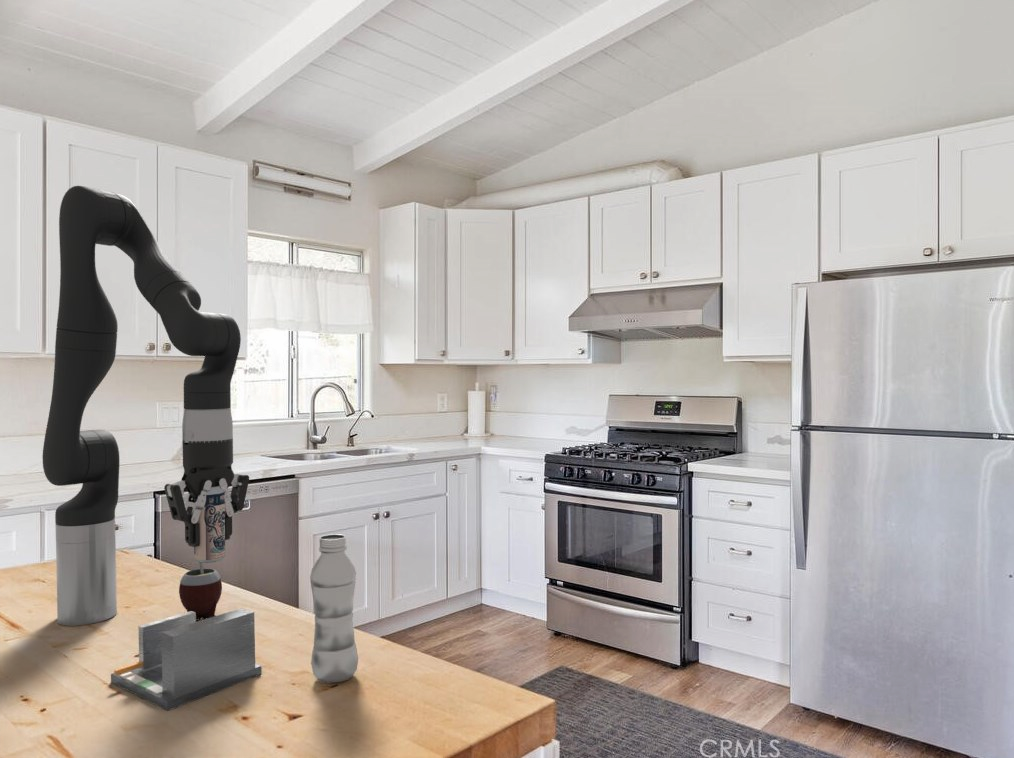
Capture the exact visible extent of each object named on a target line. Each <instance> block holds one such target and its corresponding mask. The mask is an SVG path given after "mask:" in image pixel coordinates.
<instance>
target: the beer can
mask: <svg viewBox="0 0 1014 758" xmlns="http://www.w3.org/2000/svg"><path fill="white" fill-rule="evenodd" d="M205 495H206V502H205V506H204V508H203V509H202V510H201V513H200V516H199V519H198V522H197V523H200V545H199V546H197V547H193V561H196V562H198V563H199V562H200V563H203V564H213V563H216V562H220V561H222V560H223V559H224V558H225V557H226V540H225V492H224V490H223V489H221V488H220V486H218V487H211V488H210V491H208V492H207V493H206V494H205ZM203 496H204V495H203ZM196 501H197V500H196V499H194V503H195V502H196ZM200 563H199V564H200Z"/></svg>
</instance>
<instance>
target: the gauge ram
mask: <svg viewBox="0 0 1014 758" xmlns="http://www.w3.org/2000/svg"><path fill="white" fill-rule="evenodd" d="M194 622H197V620H196V612H193V611H189V612H187V611H186V612H183V613H180V614H175V615H173V616H169V617H165V618H162V619H158V620H155V621H151V622H148V623H144V624H141V625H138V628H137V630H138V662H134V663H131V664H128V665H125V666H123V667H119V668H117V669H114V670H113V671H114V672H113V673H114V674H115V675H119V674H122V673H125V672H128V671H131V670H134V669H137V668H140V669H142V670H145V669H148V668H151V667H154V666H157V665H160V664H162V643H161V632H164V631H167V630H171V629H174V628H177V627H181V626H184V625H187V624H191V623H194Z"/></svg>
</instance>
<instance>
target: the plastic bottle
mask: <svg viewBox="0 0 1014 758" xmlns="http://www.w3.org/2000/svg"><path fill="white" fill-rule="evenodd" d="M346 539H347V538H346V535H345V534H342V533H341V534H339V533H338V534H337V533H331V534H325V535H321V536H320V537H319V547H318V551H319V552H320V555H319V556H318V559H317V560H316V561H315V562H314V565H313V566H312V568H311V570H310V575H309V583H310V589H311V595H312V599H313V600H312V601H313V613H314V636H313V638H314V639H313V648H312V653H311V661H310V665H311V670H312V674H313V676H314V677H315V679H316V680H317V681H319V682H321V683H325V684H331V683H332V684H334V683H335V684H336V683H341V682H345V681H347V680H350V679H351V678H352V677H353V676H354V675H355V673H356V671H357V670H358V664H359V654H358V648H357V644H356V639H355V629H354V628H355V627H354V621H353V619H354V618H353V617H354V612H353V611H354V596H355V589H356V580H357V572H356V568H355V565H354V564H353V562H352V561H351V559H350V558H349V556H347V554H346V552H345V551H346V550H347V544H346V543H347V540H346Z"/></svg>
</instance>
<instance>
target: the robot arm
mask: <svg viewBox="0 0 1014 758" xmlns="http://www.w3.org/2000/svg"><path fill="white" fill-rule="evenodd" d="M58 221H59V222H58V228H59V229H58V230H59V231H58V235H59V237H58V238H59V258H60V259H59V261H60V263H59V265H60V272H59V273H60V275H59V277H60V279H59V280H60V281H59V296H58V297H59V299H58V311H57V320H56V330H55V342H54V343H55V345H54V347H55V348H54V368H53V369H54V370H53V381H52V390H51V391H52V392H51V393H52V394H51V399H50V407H49V412H48V417H47V424H46V428H45V429H46V430H45V435H44V439H43V446H42V447H43V448H42V457H41V458H42V469H43V472H44V473H43V474H44V476H45V478H46V479H47V481H48V482H49V483H50V484H51V485H54V486H56V487H57V486H58V487H59V486H60V487H61V486H62V487H64V486H65V487H66V486H72V485H79V484H82V485H81V488H80V490H79V491H78V492H77V494H76V495H75V496H73V497H72V498H70V499H69V500H68V501H67V500H66V502H64V503H61V504H60V505H59V506H58V507H57V508H56V509H55V514H54V519H55V520H54V521H55V556H56V559H55V561H56V564H55V565H56V596H57V597H56V604H57V605H56V606H57V607H56V610H57V612H56V613H57V615H56V616H57V623H58V624H60V625H61V626H83V625H91V624H95V623H99V622H102V621H106V620H109V619H111V618H113V617H115V616H116V615H117V613H118V607H117V605H118V601H117V599H118V598H117V594H118V593H117V589H118V587H117V552H116V551H117V546H116V545H117V544H116V541H117V540H116V508H117V506H118V502H119V501H118V500H119V486H120V485H119V483H120V482H119V481H120V451H119V445H118V442H117V440H116V438H115V437H114V435H113V434H112V432H110V431H108V430H105V429H92V430H91V429H89V430H81V426H82V425H81V424H82V421H83V420H82V419H83V416H84V413H85V412H84V411H85V408H86V407H87V404H88V402H89V401H90V398H91V397H92V395H93V394H94V392H95V391H96V390H97V388H98V387H99V386H100V385H101V383H102V382H103V380H104V379H105V378H106V376H107V374H108V372H110V370H111V368H112V367H113V364H114V363H115V359H116V353H117V342H118V341H117V339H118V330H119V329H118V321H117V316H116V313H115V311H114V307H112V305H111V303H110V300H109V298H108V297H107V295H106V293H105V291H104V288H103V287H102V285H101V282H100V279H99V277H98V274H97V267H96V245H101V246H107V247H108V246H109V247H112V246H113V247H114V246H115V247H116V248H117V249H119V250H121V251H122V252H123V253H125V255H127V256H128V257H129V258H130V259H131V261H132V262H133V278H134V282H135V285H136V287H137V289H138V291H139V292H140V294H141V295H142V296H143V298H144V299H145V301H147V302H148V303H149V304H150V306H151V308H153V309H154V311H155V312H156V313H157V314H158V315H159V317H160V319H161V322H162V325H163V327H164V330H165V332H166V334H167V336H168V338H169V341H170V343H171V344H172V346H174V348H176V349H177V350H178V351H179V352H181V353H183V354H184V355H186V356H191V357H204V360H203V361H202V365H201V368H200V369H198V370H196V371H193V372H190V373H188V374H186V376H185V377H184V380H183V416H182V425H181V427H182V430H181V431H182V438H181V439H182V442H181V443H182V468H183V475H182V477H181V479H180V480H179V481H176V482H174V483H166V484H165V485H164V488H163V489H164V492H165V495H166V500H167V504H168V507H169V512H170V516H171V519H172V520H174V521H180V522H183V524H184V541H185V543H187V545H188V546H189V547H192V548H194V547H197V546H199V545H200V523H197V522H198V519H199V516H200V513H201V510H202V509H203V508H204V506H205V502H206V495H205V494H206V493H207V492H208V491H210V488H211V487H218V486H220V488H221V489H223V490H224V492H225V541H227V540H228V541H229V540H230V539H231V536H232V534H233V516H234V515H235V514H236V513H238V512H241V511H243V509H244V507H245V500H246V497H247V491H248V487H249V482H250V476H249V474H242V473H234V471H233V468H232V465H233V463H234V438H233V437H234V432H233V430H234V427H233V426H234V425H233V416H232V407H231V405H232V397H231V395H232V393H231V389H232V388H231V383H232V379H233V376H234V372H235V368H236V364H237V360H238V356H239V353H240V348H241V341H242V338H241V336H242V335H241V333H240V332H241V330H240V327H239V325H238V324H237V322H236V320H235V319H234V318H233V317H232V316H230V315H229V314H227V313H219V312H208V311H207V312H205V311H199V310H200V308H201V305H202V299H201V295H200V292H198V290H197V289H196V288H195V286H193V284H192V283H191V282H190V281H189V280H188V279H187V278H186V277H185V276H184V274H183V273H182V272H180V270H179V269H178V267H176V265H175V264H174V263H173V262H172V260H170V258H169V257H168V255H167V254H166V253H165V251H164V249H163V248H162V246H161V244H159V242H158V240H157V238H156V237H155V235H154V233H153V232H152V230H151V229H150V227H149V225H148V224H147V222H146V220H145V219H144V217H143V215H142V214H141V212H140V210H139V209H138V208H137V206H136V205H135V204H134V203H133V202H132V200H131V199H129V198H128V197H126V196H125V195H122V194H120V193H116V192H113V191H107V190H102V189H98V188H94V187H89V186H85V185H74V186H71V187H70V188H68V189H67V191H65V192H64V194H63V197H62V200H61V203H60V206H59V218H58ZM230 486H232V487H231V491H230V492H229V488H230ZM185 490H186V491H187V496H186V499H185V501H184V497H183V495H184V494H185ZM203 495H204V496H203ZM194 499H196V500H197V501H196V502H195V503H194Z"/></svg>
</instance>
